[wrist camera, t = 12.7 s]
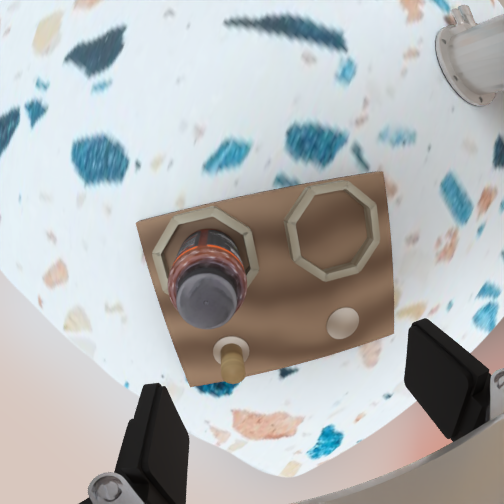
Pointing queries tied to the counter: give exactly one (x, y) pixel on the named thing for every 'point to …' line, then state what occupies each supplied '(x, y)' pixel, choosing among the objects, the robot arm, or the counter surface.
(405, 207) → the counter surface
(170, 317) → the board
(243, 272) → the supplement bottle
